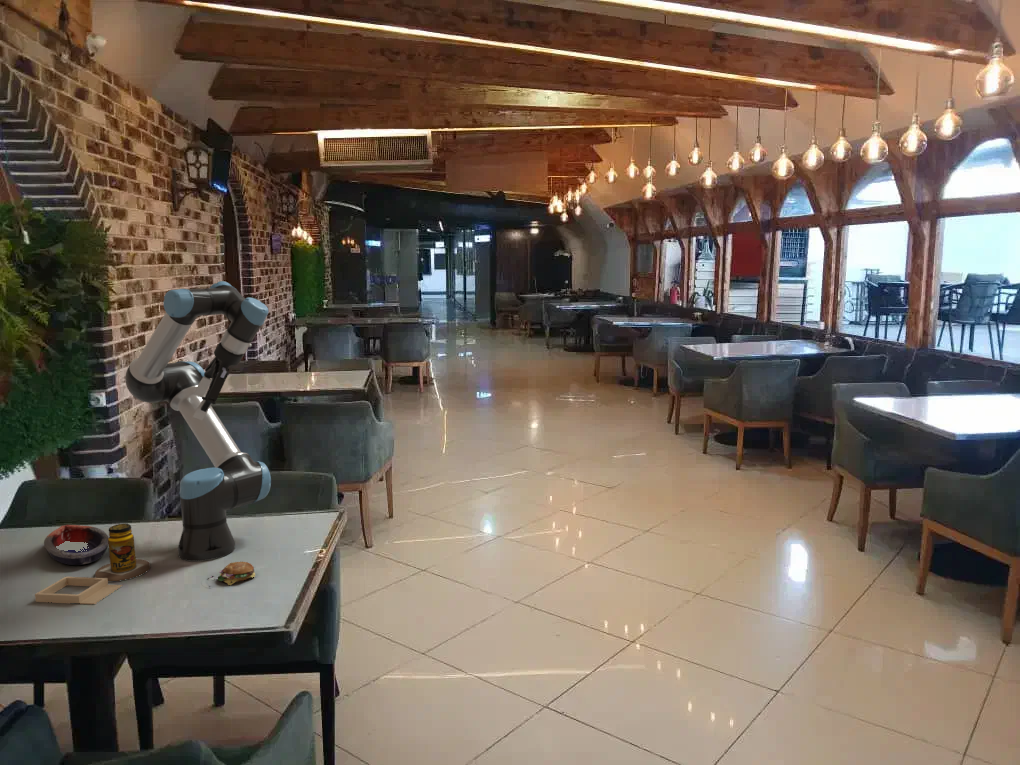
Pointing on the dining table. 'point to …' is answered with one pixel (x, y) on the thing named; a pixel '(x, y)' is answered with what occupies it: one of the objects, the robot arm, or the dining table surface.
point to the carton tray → (88, 596)
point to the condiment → (121, 550)
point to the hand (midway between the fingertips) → (197, 406)
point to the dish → (77, 534)
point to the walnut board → (126, 576)
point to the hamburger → (236, 572)
